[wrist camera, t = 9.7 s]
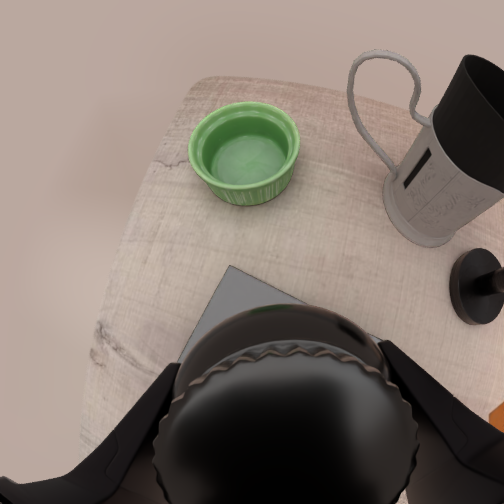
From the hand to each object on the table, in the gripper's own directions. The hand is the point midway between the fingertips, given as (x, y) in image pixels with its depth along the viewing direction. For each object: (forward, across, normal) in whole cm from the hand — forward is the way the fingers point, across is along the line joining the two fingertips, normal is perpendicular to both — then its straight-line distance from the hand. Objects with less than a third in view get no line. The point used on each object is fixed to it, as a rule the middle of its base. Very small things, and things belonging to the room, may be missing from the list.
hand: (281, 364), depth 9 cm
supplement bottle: (+4, 0, +6) cm, 7 cm away
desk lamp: (+10, -19, +8) cm, 23 cm away
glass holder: (+17, -12, 0) cm, 21 cm away
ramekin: (+20, +1, -2) cm, 20 cm away
